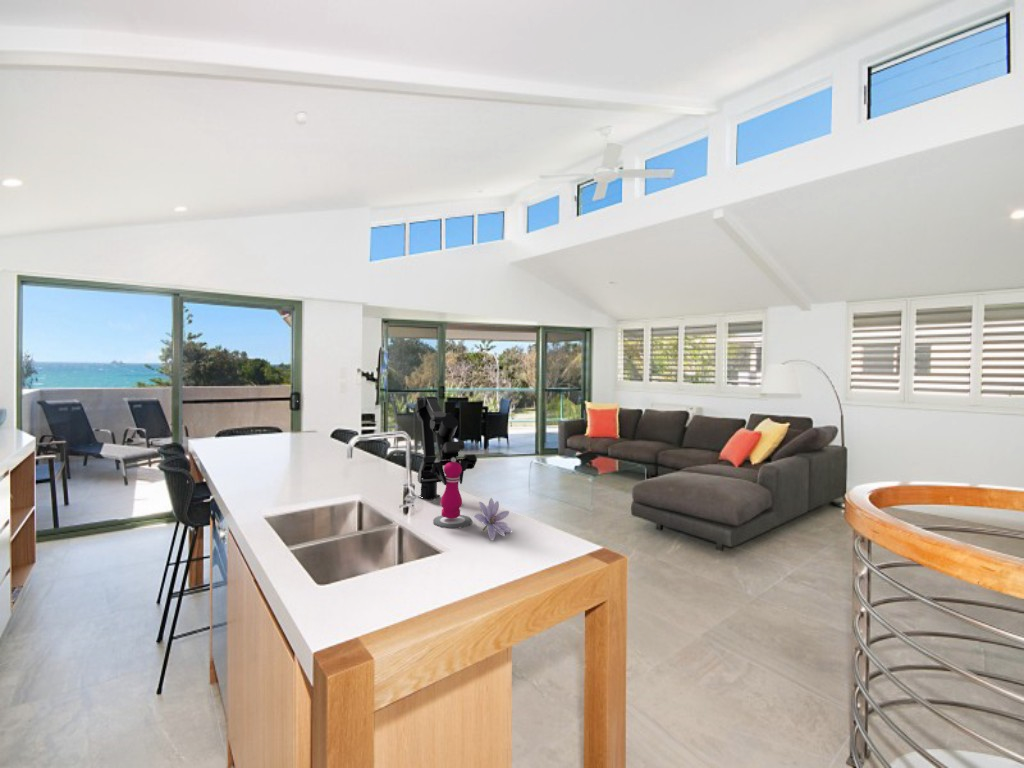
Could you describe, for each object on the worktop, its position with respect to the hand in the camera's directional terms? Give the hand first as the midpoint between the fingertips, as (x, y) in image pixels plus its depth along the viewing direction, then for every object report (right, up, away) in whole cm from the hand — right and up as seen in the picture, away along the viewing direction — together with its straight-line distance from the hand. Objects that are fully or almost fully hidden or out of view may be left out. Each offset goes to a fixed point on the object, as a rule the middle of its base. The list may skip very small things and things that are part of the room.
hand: (453, 484), depth 167 cm
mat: (-1, -13, +2) cm, 13 cm away
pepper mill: (-1, -11, +3) cm, 12 cm away
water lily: (+14, -14, -10) cm, 22 cm away
